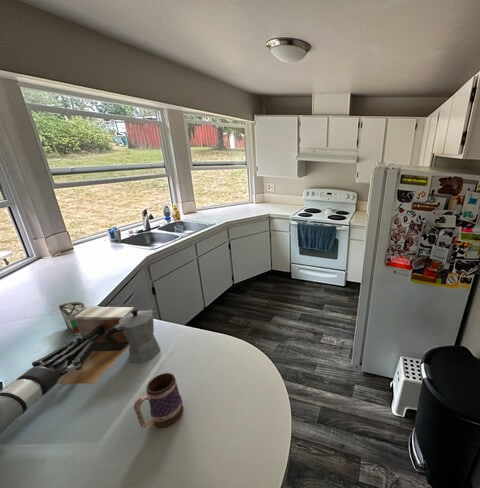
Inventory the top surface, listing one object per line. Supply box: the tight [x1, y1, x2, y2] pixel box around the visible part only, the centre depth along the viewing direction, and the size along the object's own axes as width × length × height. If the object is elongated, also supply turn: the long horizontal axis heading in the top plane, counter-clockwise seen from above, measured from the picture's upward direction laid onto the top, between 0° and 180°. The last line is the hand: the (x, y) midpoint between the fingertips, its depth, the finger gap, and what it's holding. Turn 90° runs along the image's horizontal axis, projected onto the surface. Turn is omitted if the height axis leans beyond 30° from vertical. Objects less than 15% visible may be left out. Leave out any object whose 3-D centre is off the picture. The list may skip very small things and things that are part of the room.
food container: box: [58, 301, 88, 337], centre depth 96 cm, size 12×6×10 cm, turn 58°
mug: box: [133, 372, 184, 429], centre depth 63 cm, size 10×7×12 cm
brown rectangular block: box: [74, 306, 136, 343], centre depth 90 cm, size 16×6×11 cm, turn 92°
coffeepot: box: [105, 308, 161, 364], centre depth 82 cm, size 15×9×18 cm, turn 153°
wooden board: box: [56, 343, 129, 385], centre depth 85 cm, size 18×24×1 cm
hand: (101, 329), depth 87 cm, fingers closed
